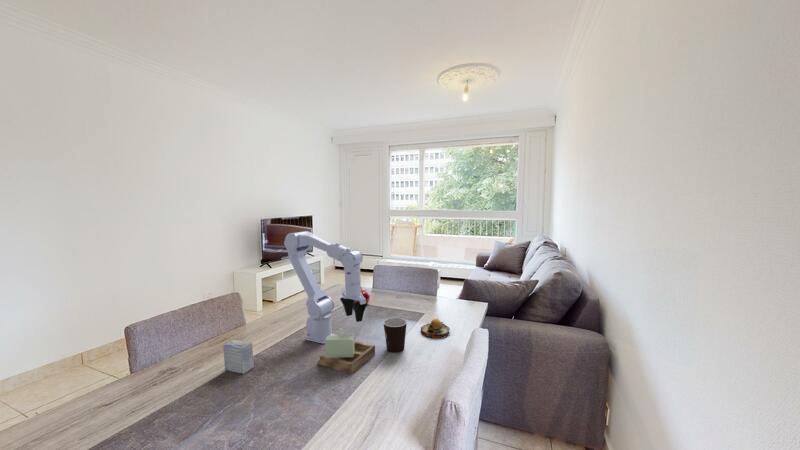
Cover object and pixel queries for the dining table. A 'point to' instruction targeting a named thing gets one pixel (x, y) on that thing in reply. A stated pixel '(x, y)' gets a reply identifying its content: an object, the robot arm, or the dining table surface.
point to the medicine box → (238, 356)
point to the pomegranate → (364, 295)
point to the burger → (435, 329)
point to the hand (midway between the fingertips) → (354, 318)
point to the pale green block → (339, 346)
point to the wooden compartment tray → (350, 358)
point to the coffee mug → (395, 334)
